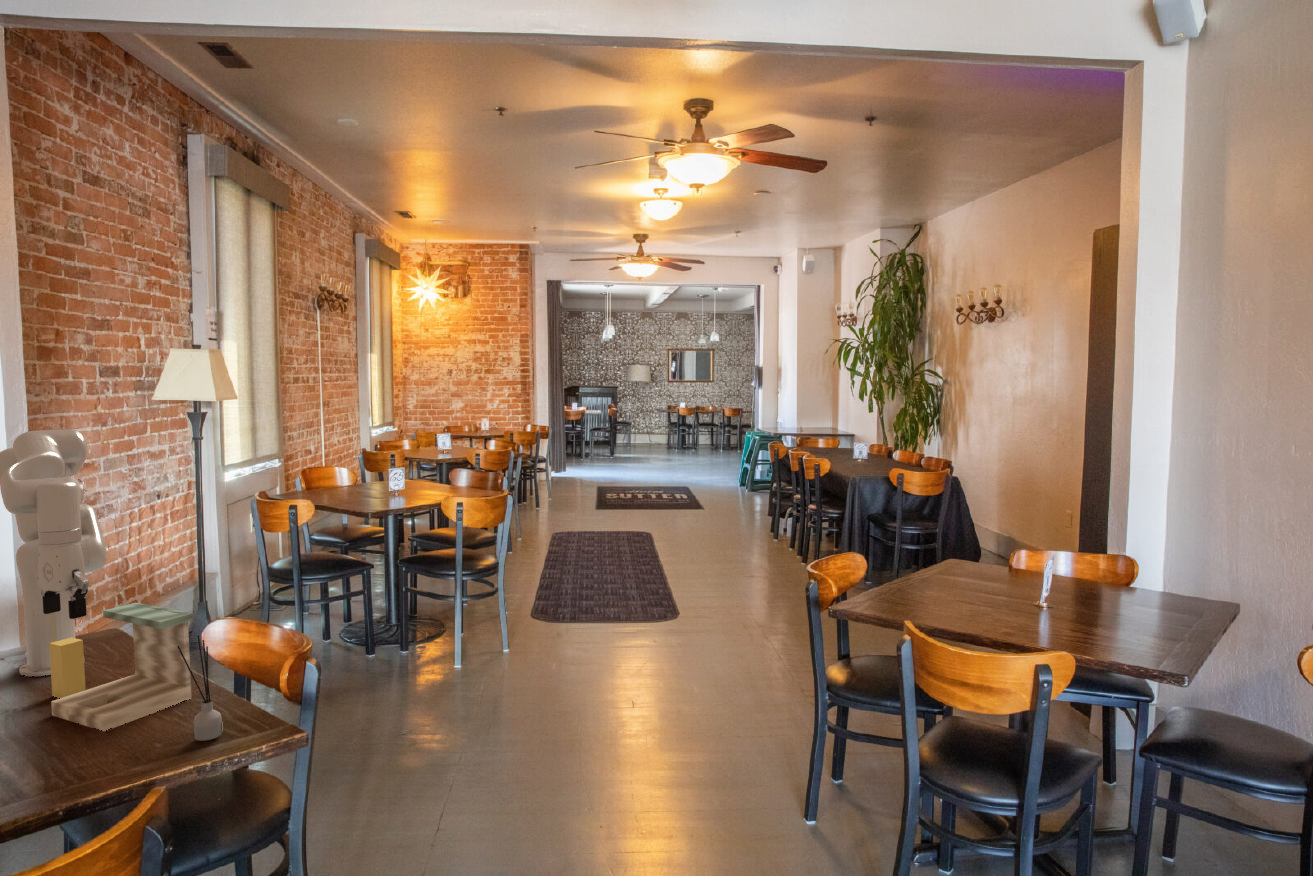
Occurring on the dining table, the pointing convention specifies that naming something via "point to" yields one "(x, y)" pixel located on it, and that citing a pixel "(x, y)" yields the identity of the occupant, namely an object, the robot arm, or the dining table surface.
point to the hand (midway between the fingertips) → (64, 615)
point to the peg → (67, 667)
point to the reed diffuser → (205, 707)
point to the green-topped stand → (138, 672)
